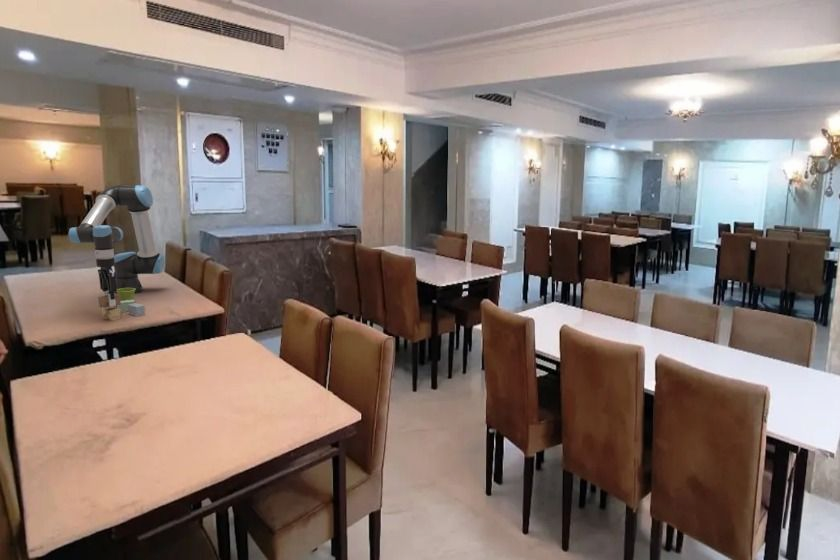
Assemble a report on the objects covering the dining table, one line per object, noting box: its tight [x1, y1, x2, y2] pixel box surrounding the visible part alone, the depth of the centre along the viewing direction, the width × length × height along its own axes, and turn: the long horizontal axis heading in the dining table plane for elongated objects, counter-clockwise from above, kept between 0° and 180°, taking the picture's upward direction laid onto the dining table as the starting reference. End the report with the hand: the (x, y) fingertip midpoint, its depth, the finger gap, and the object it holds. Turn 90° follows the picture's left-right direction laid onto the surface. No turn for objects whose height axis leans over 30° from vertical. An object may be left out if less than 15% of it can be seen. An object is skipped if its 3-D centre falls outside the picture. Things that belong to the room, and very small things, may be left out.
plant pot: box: [117, 288, 136, 301], centre depth 271 cm, size 9×9×9 cm
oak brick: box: [101, 306, 122, 321], centre depth 248 cm, size 8×4×5 cm, turn 65°
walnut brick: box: [98, 294, 121, 309], centre depth 247 cm, size 8×4×5 cm, turn 150°
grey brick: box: [127, 302, 146, 317], centre depth 256 cm, size 8×4×5 cm, turn 57°
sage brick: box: [116, 299, 136, 313], centre depth 262 cm, size 8×4×5 cm, turn 124°
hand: (110, 304), depth 247 cm, fingers closed on walnut brick, 4 cm apart
